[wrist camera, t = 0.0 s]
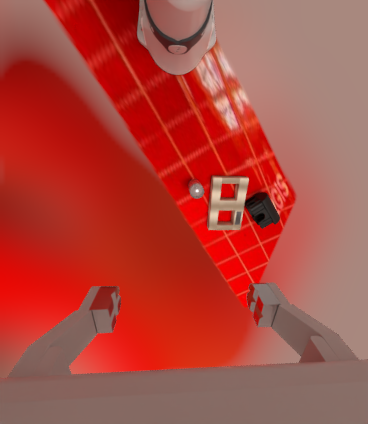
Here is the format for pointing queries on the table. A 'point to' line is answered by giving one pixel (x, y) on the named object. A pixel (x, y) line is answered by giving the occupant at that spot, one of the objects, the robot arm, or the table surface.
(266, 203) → the end cap
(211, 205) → the beige rectangular frame
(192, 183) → the metal pin
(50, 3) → the table surface
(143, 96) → the table surface
